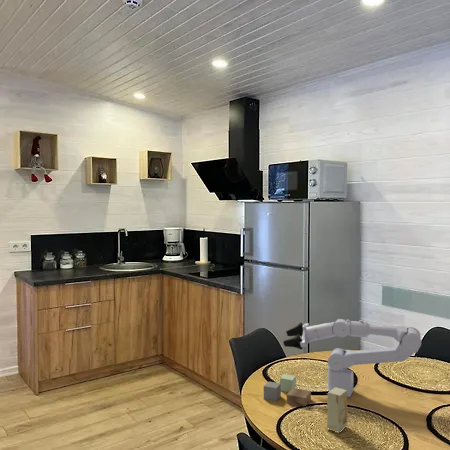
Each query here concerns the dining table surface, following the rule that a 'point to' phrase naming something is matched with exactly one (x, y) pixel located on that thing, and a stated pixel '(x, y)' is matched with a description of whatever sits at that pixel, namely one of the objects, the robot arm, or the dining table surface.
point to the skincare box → (337, 409)
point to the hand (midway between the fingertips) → (285, 338)
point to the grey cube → (272, 391)
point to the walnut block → (298, 397)
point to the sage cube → (287, 382)
